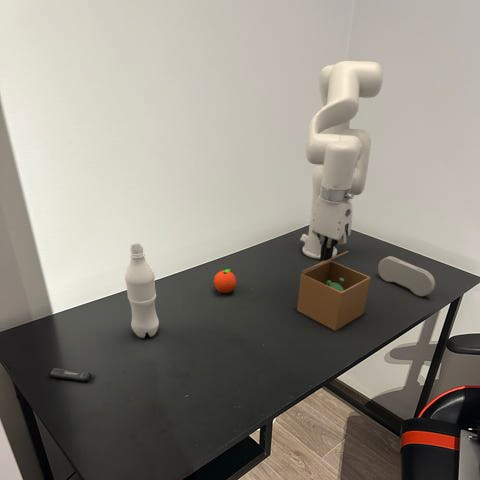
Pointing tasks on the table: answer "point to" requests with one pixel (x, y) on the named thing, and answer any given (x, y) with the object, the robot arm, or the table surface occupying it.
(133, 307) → the water bottle
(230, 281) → the clementine
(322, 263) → the flap
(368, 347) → the table surface
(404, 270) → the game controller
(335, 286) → the alien toy
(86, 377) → the usb stick
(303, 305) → the carton
